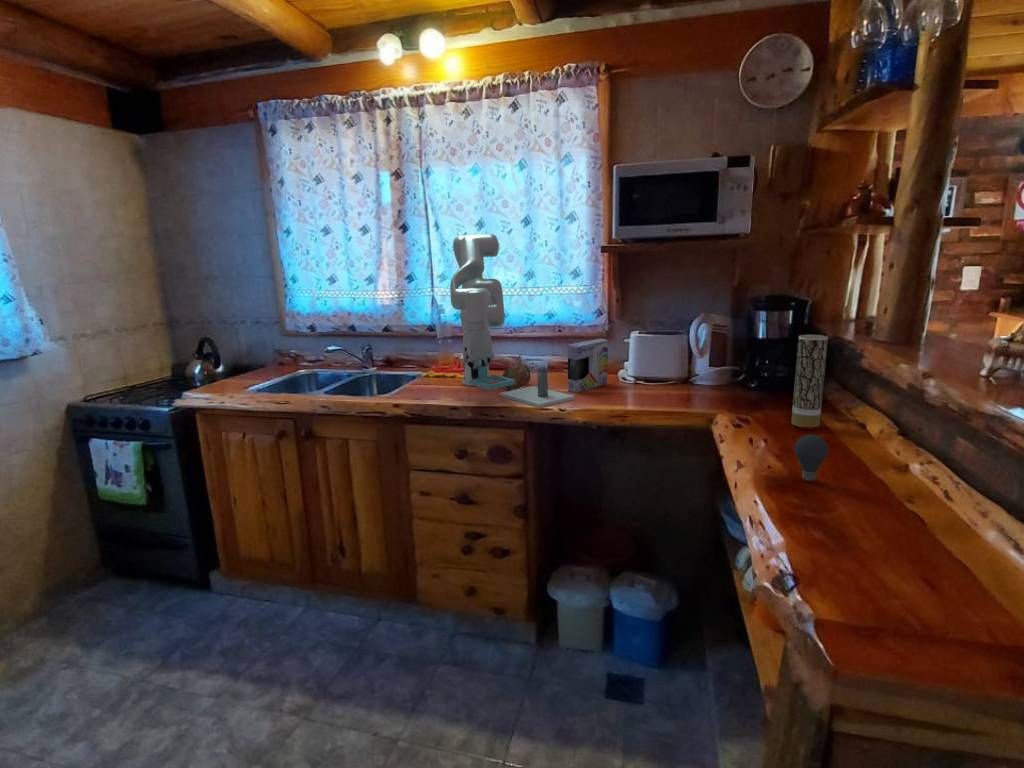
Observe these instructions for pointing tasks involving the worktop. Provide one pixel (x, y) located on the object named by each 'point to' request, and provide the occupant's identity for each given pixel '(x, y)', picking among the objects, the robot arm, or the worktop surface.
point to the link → (490, 379)
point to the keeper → (538, 392)
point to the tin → (518, 376)
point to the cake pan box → (587, 364)
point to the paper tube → (809, 380)
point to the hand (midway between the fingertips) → (479, 377)
